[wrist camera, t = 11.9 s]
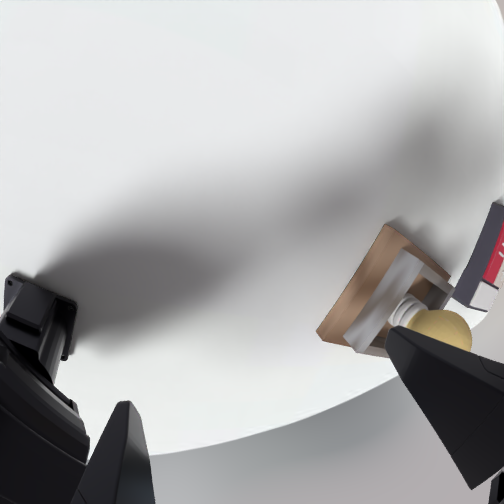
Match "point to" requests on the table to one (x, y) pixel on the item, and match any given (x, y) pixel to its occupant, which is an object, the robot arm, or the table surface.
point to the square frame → (384, 293)
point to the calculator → (484, 265)
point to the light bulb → (432, 322)
